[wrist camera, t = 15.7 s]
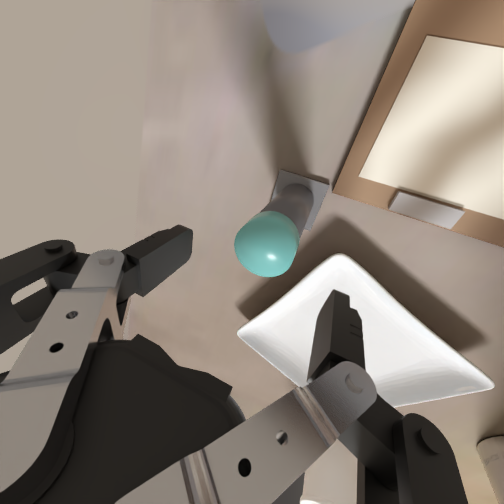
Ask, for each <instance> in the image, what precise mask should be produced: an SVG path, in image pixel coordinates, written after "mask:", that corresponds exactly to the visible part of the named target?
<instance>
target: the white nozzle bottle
mask: <svg viewBox="0 0 504 504" xmlns="http://www.w3.org/2000/svg"><path fill="white" fill-rule="evenodd" d="M300 504H357V458H356V457H355V456H354V455H353V454H352V453H351V452H350V451H349V450H348V449H347V448H346V447H345V446H344V445H343V444H342V443H341V442H340V441H339V440H338V439H336V441H335V442H334V443H333V444H332V445H331V446H330V447H329V448H328V449H327V450H326V451H325V452H324V453H323V454H322V455H321V456H320V457H319V458H318V459H317V460H316V461H315V462H314V463H313V464H312V465H311V466H310V467H309V468H308V469H307V470H306V471H305V478H304V487H303V495H302V496H301V498H300Z"/></svg>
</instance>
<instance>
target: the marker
mask: <svg viewBox="0 0 504 504" xmlns="http://www.w3.org/2000/svg"><path fill="white" fill-rule="evenodd" d="M313 204H314V198H313V194H312V192H311V191H310V189H309V188H308V187H306V186H305V185H302V184H298V183H295V184H290V185H288V186H286V187H285V188H284V189H283V190H282V191H281V192H280V193H279V194H278V195H277V196H276V197H275V198H274V199H273V200H272V201H271V202H270V203H269V204H268V205H267V206H266V207H265V208H264V209H263V210H262V211H261V212H260V213H258V214H257V215H255V216H254V217H253V218H252V219H251V220H249V221H248V222H247V223H246V224H245V225H244V226H243V227H242V228H241V229H240V230H239V232H238V233H237V235H236V238H235V243H234V247H235V252H236V255H237V257H238V259H239V261H240V262H241V264H242V265H243V266H244V267H245V268H246V269H248V270H249V271H250V272H252V273H254V274H256V275H259V276H263V277H275V276H278V275H281V274H283V273H284V272H286V271H287V270H288V269H289V267H290V266H291V264H292V262H293V259H294V257H295V254H296V251H297V249H298V246H299V241H300V237H301V235H302V232H303V230H304V227H305V225H306V222H307V220H308V217H309V215H310V212H311V210H312V207H313Z"/></svg>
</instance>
